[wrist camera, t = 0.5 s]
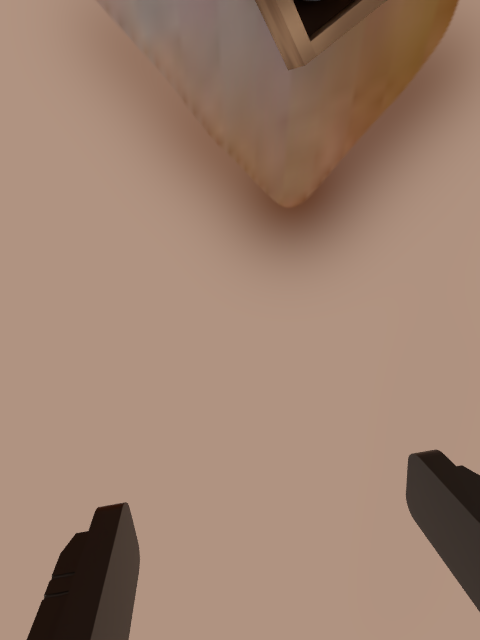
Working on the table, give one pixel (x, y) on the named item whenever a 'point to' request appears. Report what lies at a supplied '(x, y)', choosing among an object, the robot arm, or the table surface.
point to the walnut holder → (293, 36)
